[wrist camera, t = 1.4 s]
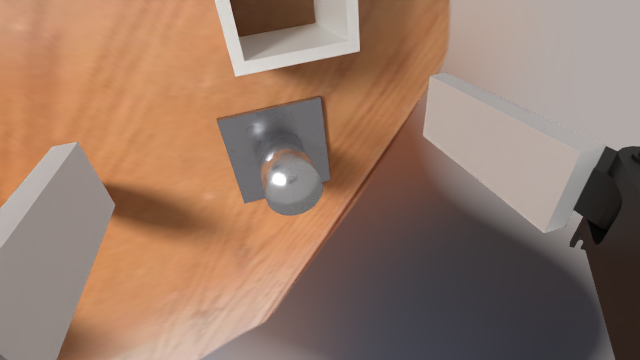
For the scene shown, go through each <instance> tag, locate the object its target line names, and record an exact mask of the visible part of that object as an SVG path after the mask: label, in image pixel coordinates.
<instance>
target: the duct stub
mask: <svg viewBox="0 0 640 360" xmlns="http://www.w3.org/2000/svg"><path fill="white" fill-rule="evenodd" d="M217 122H218V125H219V128H220V131H221V134H222V137H223V140H224V143H225V146H226V149H227V152H228V155H229V158H230V161H231V164H232V167H233V170H234V173H235V176H236V179H237V182H238V185H239V188H240V191H241V194H242V197H243V200H244V203H248V202H252V201H256V200H259V199H263V198H266V199H267V202H268V205H269V206H270V207H271V209H273V210H274V211H275V212H277V213H279V214H282V215H298V214H301V213H304V212H306V211H308V210H310V209H311V208H312V207H314V206H315V205H316V203H317V202H318V201H319V199H320V198H321V195H322V192H323V184H322V182H326V181H329V180H330V172H329V164H328V155H327V147H326V138H325V130H324V121H323V113H322V104H321V98H320V96H315V97H311V98H306V99H302V100H298V101H293V102H289V103H284V104H280V105H275V106H271V107H266V108H262V109H257V110H253V111H248V112H244V113H240V114H235V115H231V116H226V117H222V118H217Z"/></svg>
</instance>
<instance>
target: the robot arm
mask: <svg viewBox="0 0 640 360" xmlns="http://www.w3.org/2000/svg"><path fill="white" fill-rule="evenodd" d="M423 136H424V137H425V138H426V139H427V140H429V141H430V142H431V143H432V144H434V145H435V146H436V147H437V148H439V149H440V150H441V151H442V152H444V153H445V154H446V155H447V156H449V157H450V158H451V159H452V160H454V161H455V162H456V163H458V164H459V165H460V166H461V167H462V168H464V169H465V170H466V171H467V172H469V173H470V174H471V175H472V176H474V177H475V178H476V179H477V180H479V181H480V182H481V183H482V184H484V185H485V186H486V187H487V188H489V189H490V190H491V191H492V192H494V193H495V194H496V195H497V196H499V197H500V198H501V199H503V200H504V201H505V202H506V203H507V204H508V205H510V206H511V207H512V208H513V209H515V210H516V211H517V212H518V213H520V214H521V215H522V216H523V217H525V218H526V219H527V220H528V221H530V222H531V223H532V224H534V225H535V226H536V227H537V228H538V229H540V230H541V231H542V232H543V233H546V232H549V231H552V230H556V229H559V228H562V227H565V226H566V224H567V223H568V221H569V218H570V216H571V215H572V212H573V211H574V210H575V211H576V212H577V213H579V214H580V215H582V216H583V218H582V220H581V222H580V224H579V226H578V228H577V230H576V232H575V234H574V235H573V237H572V239H571V241H570V247H575V245H576V243H577V241H579V240H583V245H582V246H581V249H583V250H586V254H587V258H588V261H589V265H590V269H591V272H592V276H593V280H594V283H595V287H596V290H597V294H598V298H599V302H600V305H601V309H602V312H603V316H604V320H605V324H606V327H607V331H608V334H609V338H610V342H611V345H612V349H613V353H614V356H615V360H640V147H635V146H631V147H625V148H622V149H621V150H619V151H615V150H613V149H611V148H609V147H607V146H605V145H604V144H601V143H599V142H597V141H595V140H593V139H591V138H588V137H586V136H584V135H582V134H579V133H577V132H575V131H573V130H571V129H569V128H566V127H564V126H562V125H559V124H558V123H556V122H553V121H551V120H549V119H547V118H545V117H542V116H540V115H538V114H536V113H534V112H532V111H529V110H527V109H525V108H523V107H521V106H518V105H516V104H514V103H512V102H510V101H508V100H505V99H503V98H501V97H499V96H497V95H494V94H492V93H490V92H488V91H486V90H484V89H481V88H479V87H477V86H475V85H473V84H470V83H468V82H466V81H464V80H462V79H459V78H457V77H455V76H453V75H451V74H449V73H442V74H436V75H431V76H430V79H429V88H428V97H427V105H426V114H425V122H424V131H423ZM114 208H115V203H114V202H113V200H112V198H111V197H110V195H109V193H108V192H107V190H106V188H105V187H104V185H103V183H102V182H101V180H100V178H99V177H98V175H97V173H96V171H95V170H94V168H93V166H92V165H91V163H90V161H89V160H88V158H87V156H86V155H85V153H84V151H83V150H82V148H81V146H80V144H79V143H78V142H74V143H69V144H64V145H59V146H53V147H52V148H51V149H50V150H49V151H48V152H47V154H46V155H45V156H44V157H43V158H42V160H41V161H40V162H39V163H38V164H37V166H36V167H35V168H34V169H33V170H32V171H31V173H30V174H29V175H28V176H27V177H26V179H25V180H24V181H23V182H22V183H21V184H20V186H19V187H18V188H17V189H16V190H15V192H14V193H13V194H12V195H11V196H10V197H9V199H8V200H7V201H6V202H5V203H4V205H3V206H2V207H1V208H0V360H57V357H58V355H59V352H60V350H61V347H62V344H63V342H64V339H65V336H66V334H67V331H68V329H69V326H70V323H71V321H72V318H73V315H74V313H75V310H76V308H77V305H78V302H79V300H80V297H81V294H82V292H83V289H84V286H85V284H86V281H87V279H88V276H89V273H90V271H91V268H92V265H93V263H94V260H95V258H96V255H97V252H98V250H99V247H100V244H101V242H102V239H103V237H104V234H105V231H106V229H107V226H108V223H109V221H110V218H111V216H112V213H113V210H114Z"/></svg>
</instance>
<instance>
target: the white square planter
mask: <svg viewBox="0 0 640 360" xmlns="http://www.w3.org/2000/svg"><path fill="white" fill-rule="evenodd" d="M313 3H314V12H315V21H316V23H312V24H307V25H302V26H296V27H291V28H285V29H280V30H274V31H269V32H264V33H258V34H253V35H247V36H242V37H238V33H237V29H236V25H235V21H234V17H233V13H232V9H231V5H230V1H229V0H215V4H216V7H217V11H218V15H219V18H220V22H221V26H222V29H223V33H224V37H225V40H226V44H227V48H228V51H229V55H230V59H231V62H232V66H233V70H234V73H235V77H237V76H241V75H246V74H251V73H256V72H261V71H266V70H271V69H276V68H281V67H285V66H290V65H295V64H300V63H305V62H310V61H315V60H320V59H325V58H329V57H334V56H339V55H344V54H349V53H354V52H359V51H360V41H359V16H358V0H313Z"/></svg>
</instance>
